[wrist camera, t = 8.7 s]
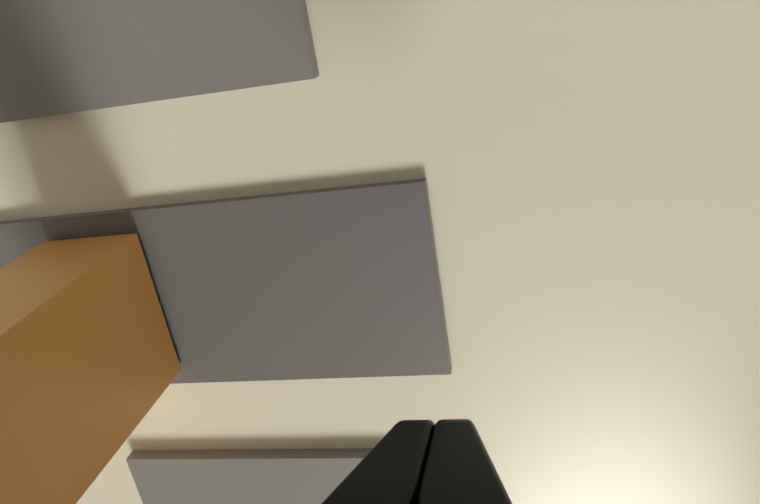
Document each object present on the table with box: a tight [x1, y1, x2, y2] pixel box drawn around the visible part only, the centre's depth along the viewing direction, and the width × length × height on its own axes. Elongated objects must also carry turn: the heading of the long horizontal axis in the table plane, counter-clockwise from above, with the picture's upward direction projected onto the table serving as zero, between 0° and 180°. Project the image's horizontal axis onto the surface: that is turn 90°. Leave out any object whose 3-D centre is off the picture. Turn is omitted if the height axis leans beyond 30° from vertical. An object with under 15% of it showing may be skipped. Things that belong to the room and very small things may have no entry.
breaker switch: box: [0, 233, 181, 504], centre depth 11 cm, size 2×3×5 cm, turn 10°
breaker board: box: [0, 0, 760, 504], centre depth 14 cm, size 22×14×3 cm, turn 100°
